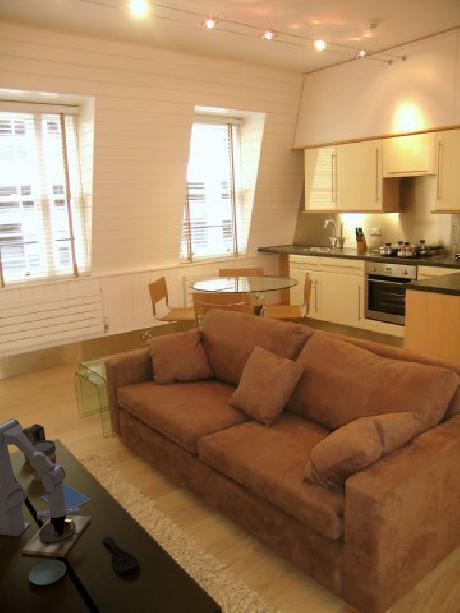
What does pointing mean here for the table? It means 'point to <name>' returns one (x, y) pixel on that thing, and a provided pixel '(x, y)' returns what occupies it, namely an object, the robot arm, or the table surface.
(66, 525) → the dial
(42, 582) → the saucer
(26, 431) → the coffee box
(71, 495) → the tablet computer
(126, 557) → the hairbrush
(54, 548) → the dial board
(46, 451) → the reusable coffee cup
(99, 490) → the table surface
